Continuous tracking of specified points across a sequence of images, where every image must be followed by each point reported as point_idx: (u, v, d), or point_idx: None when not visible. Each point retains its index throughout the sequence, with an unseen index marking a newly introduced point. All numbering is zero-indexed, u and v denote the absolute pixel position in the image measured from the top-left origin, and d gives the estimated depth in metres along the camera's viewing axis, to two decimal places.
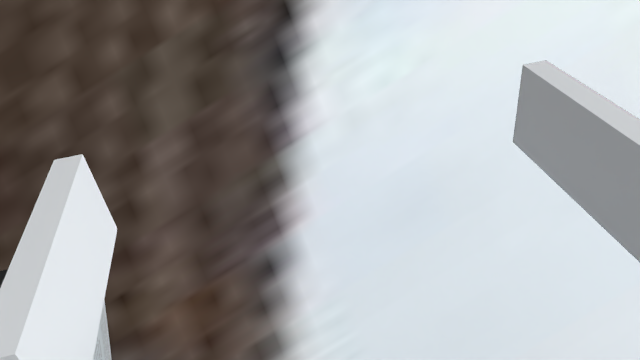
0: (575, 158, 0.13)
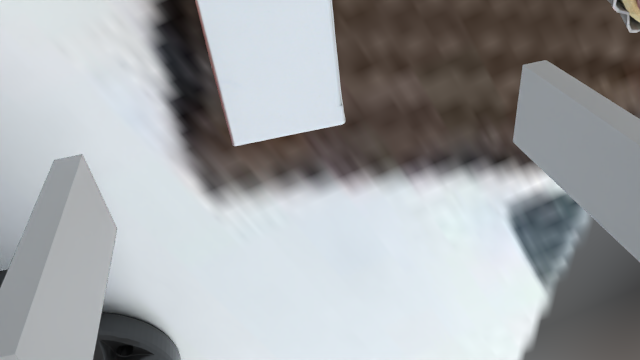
0: (575, 158, 0.13)
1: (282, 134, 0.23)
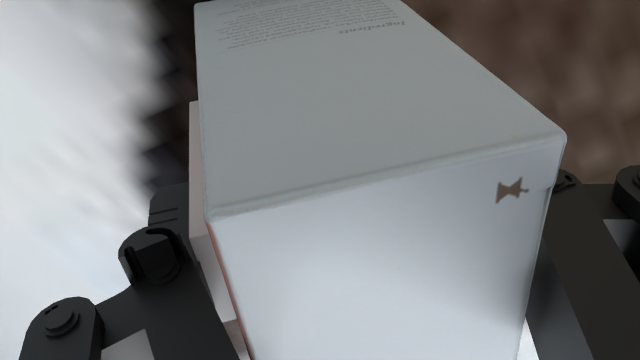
0: None
1: None
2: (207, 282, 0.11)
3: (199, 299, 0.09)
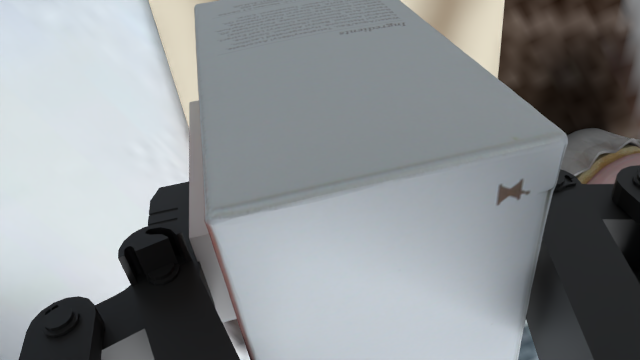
0: None
1: None
2: (207, 282, 0.11)
3: (199, 299, 0.09)
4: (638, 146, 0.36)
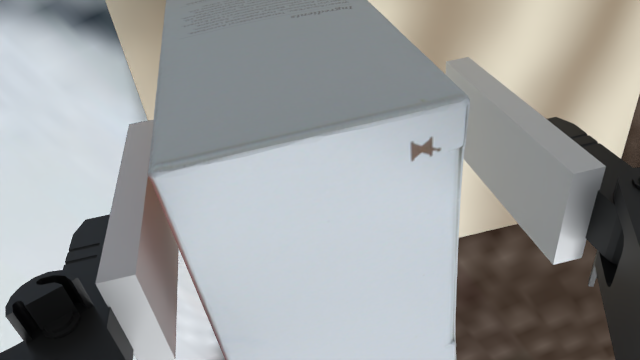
0: (487, 149, 0.14)
1: None
2: (121, 328, 0.10)
3: (104, 347, 0.08)
4: None
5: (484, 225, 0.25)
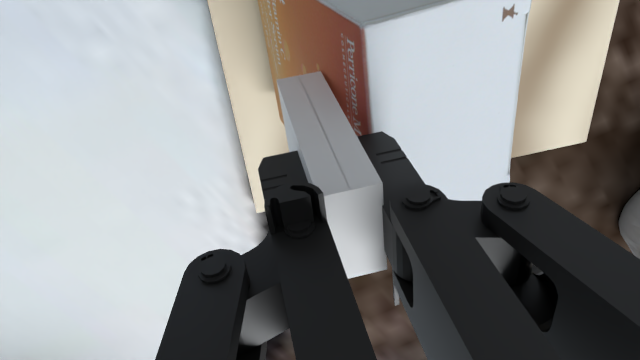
0: None
1: None
2: None
3: (330, 258, 0.10)
4: None
5: None
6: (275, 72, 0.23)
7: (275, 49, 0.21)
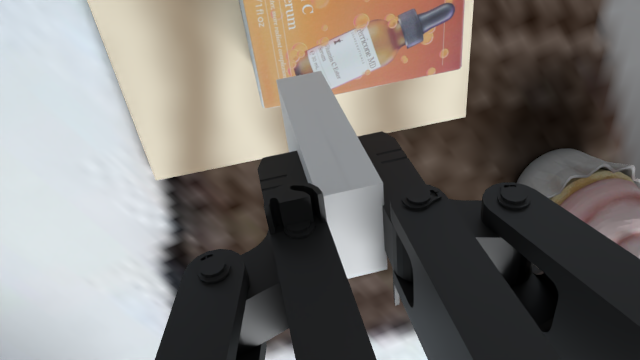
0: None
1: None
2: None
3: (330, 258, 0.10)
4: (611, 171, 0.34)
5: (365, 132, 0.33)
6: (272, 49, 0.23)
7: (284, 17, 0.22)
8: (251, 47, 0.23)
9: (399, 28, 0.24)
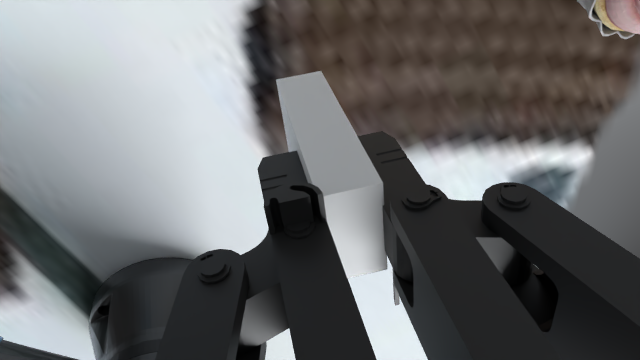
0: None
1: None
2: None
3: (330, 258, 0.10)
4: None
5: None
6: None
7: None
8: None
9: None
